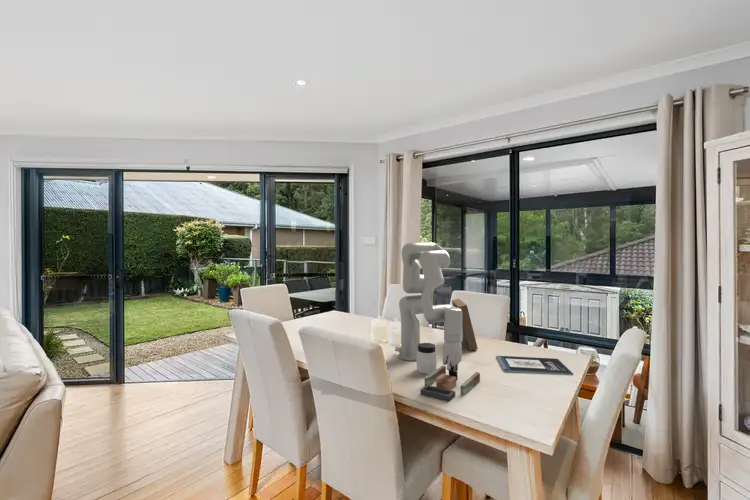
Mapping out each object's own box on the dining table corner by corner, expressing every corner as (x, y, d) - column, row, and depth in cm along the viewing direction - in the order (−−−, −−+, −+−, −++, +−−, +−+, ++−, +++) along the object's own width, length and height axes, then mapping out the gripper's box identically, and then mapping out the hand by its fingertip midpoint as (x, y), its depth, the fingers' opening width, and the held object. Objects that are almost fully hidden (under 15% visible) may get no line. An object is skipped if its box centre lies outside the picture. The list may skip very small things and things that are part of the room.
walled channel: (424, 386, 160) (424, 377, 160) (442, 373, 175) (442, 365, 175) (464, 395, 150) (464, 386, 150) (479, 380, 165) (479, 372, 165)
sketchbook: (573, 376, 172) (573, 371, 172) (503, 373, 176) (503, 368, 176) (557, 361, 193) (557, 356, 193) (495, 358, 198) (495, 354, 198)
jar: (415, 372, 176) (415, 346, 175) (418, 367, 183) (418, 342, 183) (434, 374, 173) (434, 348, 173) (437, 369, 181) (437, 343, 180)
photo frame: (468, 340, 231) (468, 298, 231) (477, 350, 210) (477, 304, 209) (443, 340, 232) (443, 298, 231) (450, 351, 210) (449, 305, 209)
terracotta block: (436, 387, 159) (436, 378, 158) (442, 383, 163) (442, 373, 163) (449, 391, 155) (449, 381, 155) (456, 386, 160) (456, 376, 160)
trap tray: (420, 394, 151) (420, 389, 151) (427, 389, 156) (427, 384, 156) (449, 401, 144) (449, 396, 144) (455, 396, 149) (455, 391, 149)
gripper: (451, 332, 171) (451, 373, 171) (437, 340, 158) (437, 384, 159) (468, 334, 167) (468, 376, 167) (454, 342, 154) (454, 388, 155)
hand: (453, 380), depth 163 cm, fingers closed
